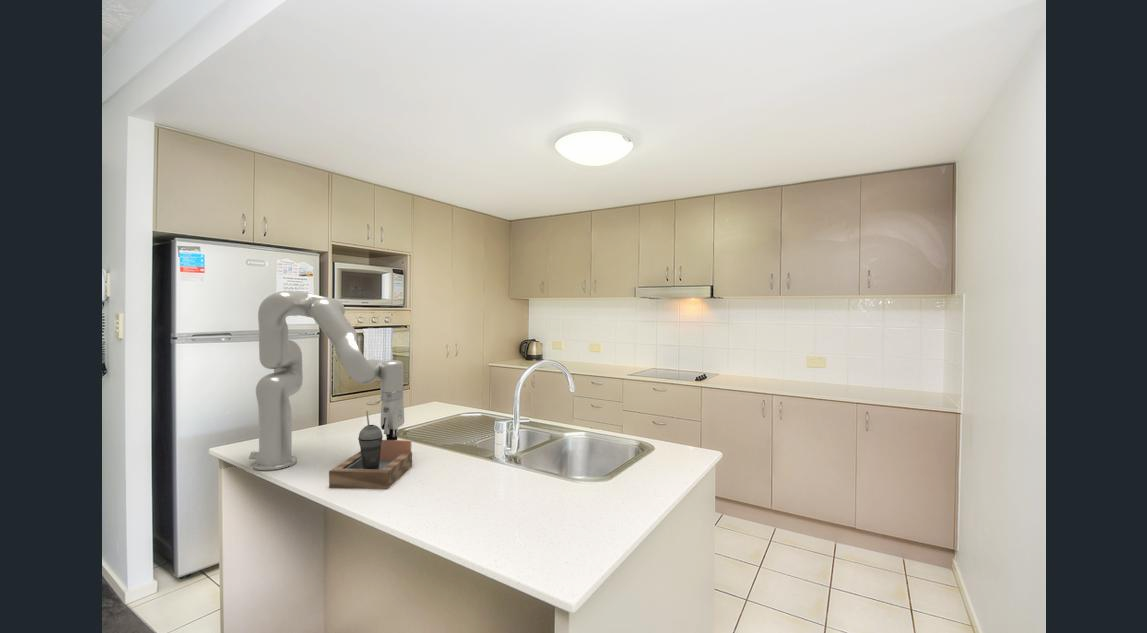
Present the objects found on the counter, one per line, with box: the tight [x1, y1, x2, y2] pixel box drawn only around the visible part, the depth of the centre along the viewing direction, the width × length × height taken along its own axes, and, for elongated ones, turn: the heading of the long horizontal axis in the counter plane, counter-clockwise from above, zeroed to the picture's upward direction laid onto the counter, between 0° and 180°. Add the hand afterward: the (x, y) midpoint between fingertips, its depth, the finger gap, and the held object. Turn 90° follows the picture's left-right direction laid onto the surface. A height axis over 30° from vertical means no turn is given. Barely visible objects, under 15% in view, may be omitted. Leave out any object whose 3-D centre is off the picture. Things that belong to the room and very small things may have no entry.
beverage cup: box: [358, 410, 384, 469], centre depth 151 cm, size 7×7×20 cm
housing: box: [328, 450, 413, 490], centre depth 153 cm, size 20×18×5 cm
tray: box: [345, 439, 412, 470], centre depth 156 cm, size 19×16×8 cm
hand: (391, 447), depth 167 cm, fingers closed
